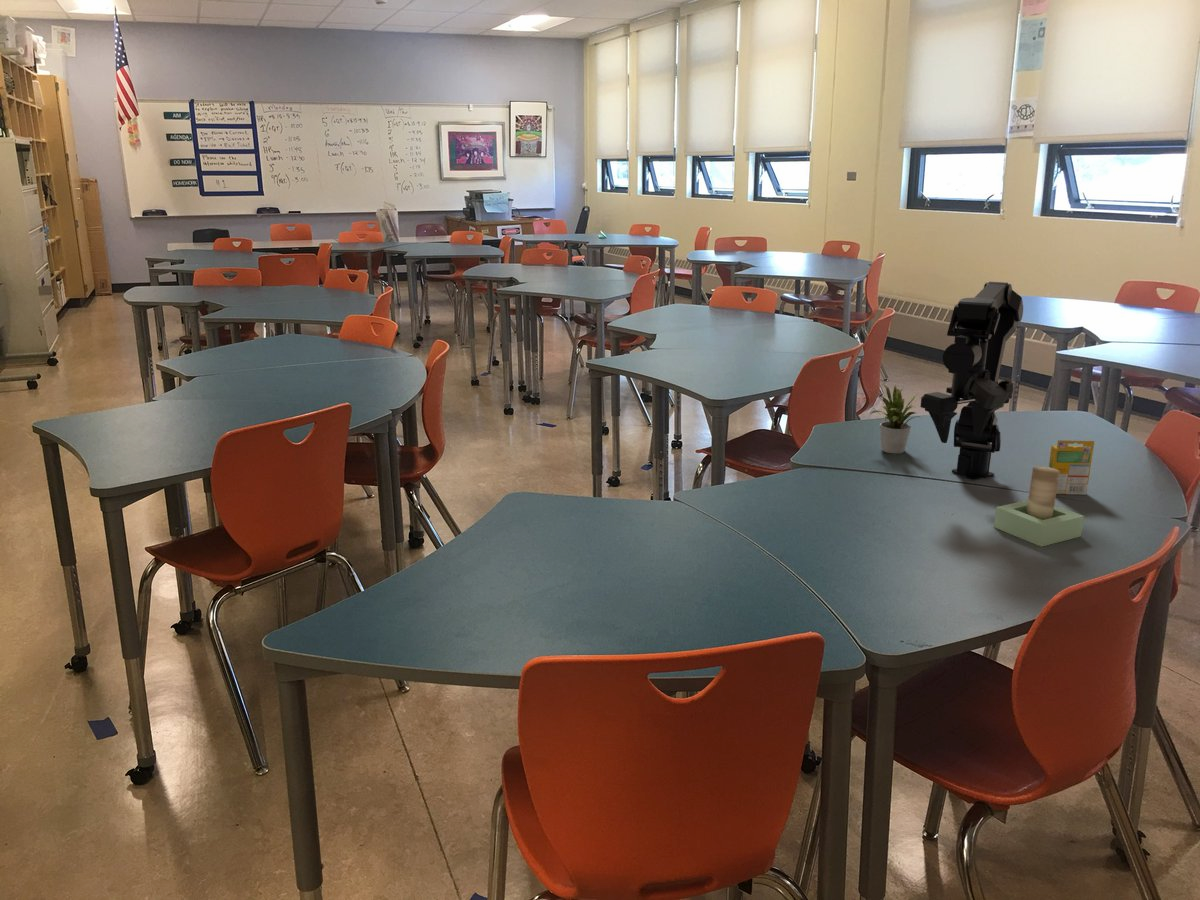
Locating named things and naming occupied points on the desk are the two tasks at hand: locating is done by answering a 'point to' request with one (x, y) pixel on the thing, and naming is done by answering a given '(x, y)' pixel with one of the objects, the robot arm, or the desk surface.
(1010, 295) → the robot arm
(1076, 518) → the pale green square holder
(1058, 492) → the crayon box
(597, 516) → the desk surface
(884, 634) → the desk surface
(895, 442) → the house plant
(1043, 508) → the beige ridged cylinder
